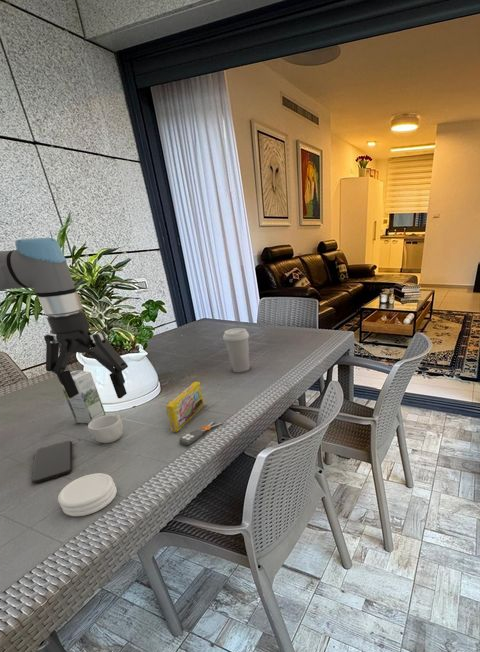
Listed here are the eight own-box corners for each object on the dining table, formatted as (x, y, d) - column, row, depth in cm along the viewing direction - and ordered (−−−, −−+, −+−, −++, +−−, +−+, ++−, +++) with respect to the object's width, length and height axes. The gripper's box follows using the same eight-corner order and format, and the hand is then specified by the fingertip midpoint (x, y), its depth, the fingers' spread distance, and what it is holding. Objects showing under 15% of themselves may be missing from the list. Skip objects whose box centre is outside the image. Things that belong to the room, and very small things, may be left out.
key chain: (189, 446, 91) (187, 442, 90) (179, 443, 92) (177, 438, 92) (224, 423, 101) (223, 419, 100) (214, 420, 102) (213, 416, 102)
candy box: (178, 432, 97) (171, 406, 93) (171, 432, 97) (164, 406, 93) (205, 405, 111) (200, 381, 107) (198, 404, 111) (193, 381, 107)
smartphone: (37, 451, 91) (32, 485, 79) (35, 449, 91) (30, 482, 79) (72, 442, 95) (73, 472, 83) (71, 439, 94) (71, 469, 82)
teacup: (115, 447, 92) (108, 429, 89) (88, 446, 93) (80, 429, 90) (136, 427, 100) (130, 410, 98) (111, 426, 101) (105, 410, 99)
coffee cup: (231, 375, 131) (224, 336, 124) (226, 367, 139) (219, 329, 132) (256, 370, 134) (251, 332, 127) (250, 362, 142) (245, 326, 135)
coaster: (54, 521, 70) (46, 507, 68) (76, 487, 78) (70, 475, 76) (107, 514, 71) (101, 500, 69) (123, 481, 79) (119, 469, 78)
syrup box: (90, 413, 109) (73, 369, 102) (107, 414, 108) (90, 370, 101) (75, 422, 104) (56, 377, 97) (92, 424, 103) (74, 378, 96)
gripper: (125, 307, 82) (150, 389, 92) (29, 310, 85) (64, 389, 95) (105, 316, 76) (134, 403, 86) (2, 318, 79) (42, 402, 89)
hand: (98, 395), depth 91 cm, fingers open, 13 cm apart
